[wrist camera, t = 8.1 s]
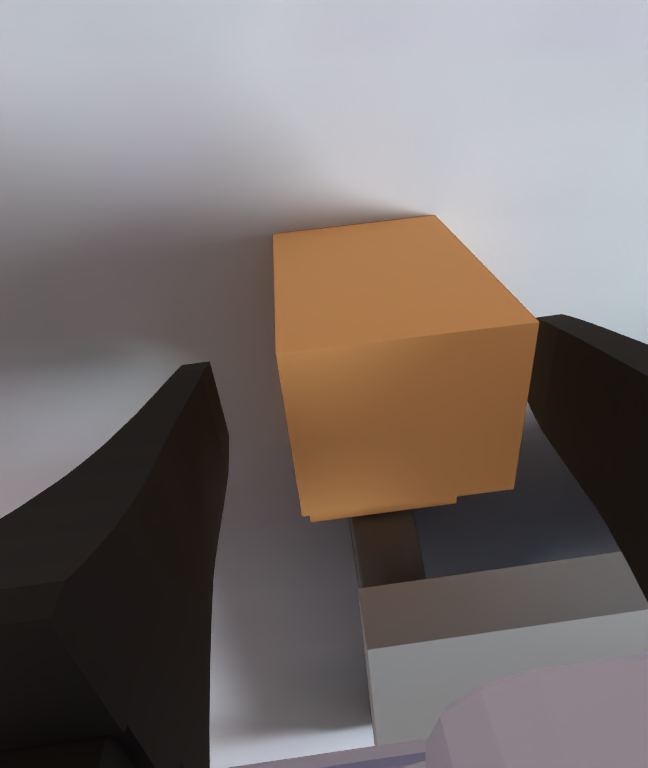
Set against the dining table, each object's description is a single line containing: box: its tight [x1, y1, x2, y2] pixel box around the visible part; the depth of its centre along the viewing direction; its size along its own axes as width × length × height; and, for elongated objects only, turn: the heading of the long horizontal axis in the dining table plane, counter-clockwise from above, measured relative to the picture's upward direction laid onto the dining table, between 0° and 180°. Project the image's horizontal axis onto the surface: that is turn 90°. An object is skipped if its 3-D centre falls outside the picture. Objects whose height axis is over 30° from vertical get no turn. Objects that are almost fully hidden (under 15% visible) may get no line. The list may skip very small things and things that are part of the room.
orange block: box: [273, 215, 539, 522], centre depth 12 cm, size 4×7×6 cm, turn 5°
